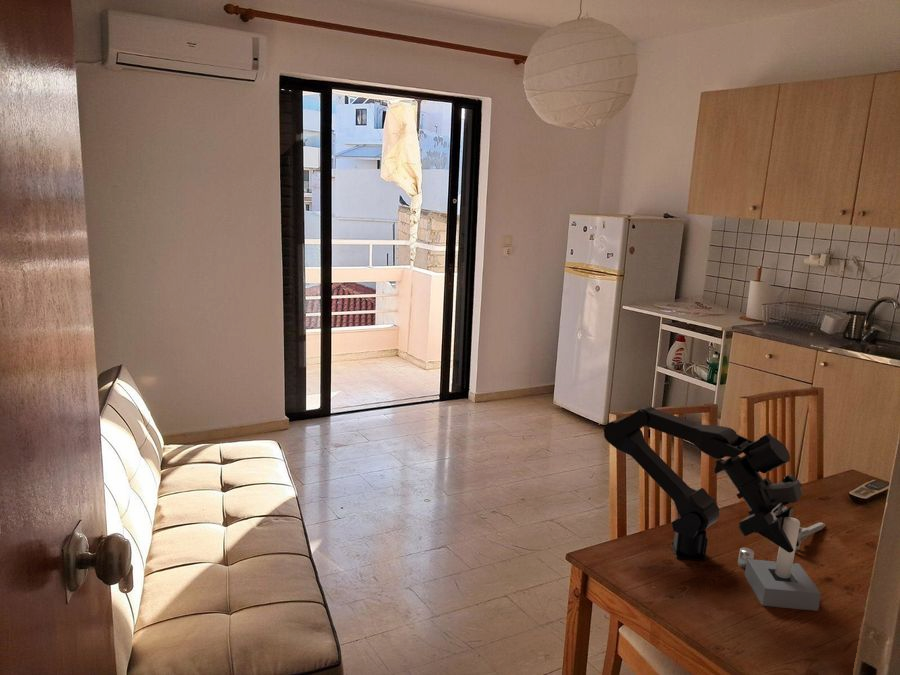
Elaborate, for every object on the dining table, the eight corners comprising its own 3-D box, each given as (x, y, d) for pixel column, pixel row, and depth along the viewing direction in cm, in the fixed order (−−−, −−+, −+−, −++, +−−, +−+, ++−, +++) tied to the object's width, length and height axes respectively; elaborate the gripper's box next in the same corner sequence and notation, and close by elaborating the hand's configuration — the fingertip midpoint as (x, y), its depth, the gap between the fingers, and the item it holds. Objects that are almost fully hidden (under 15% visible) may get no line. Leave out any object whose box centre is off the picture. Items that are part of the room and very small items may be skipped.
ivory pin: (773, 574, 141) (782, 520, 138) (776, 568, 143) (785, 515, 140) (788, 580, 139) (798, 525, 136) (791, 573, 141) (801, 520, 138)
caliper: (794, 554, 158) (798, 530, 156) (790, 552, 158) (794, 528, 157) (825, 526, 171) (829, 504, 170) (820, 525, 172) (824, 503, 171)
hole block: (762, 605, 137) (765, 588, 136) (744, 575, 148) (747, 559, 147) (817, 610, 136) (821, 593, 135) (796, 579, 147) (799, 563, 146)
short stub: (740, 567, 151) (742, 553, 150) (736, 560, 153) (738, 546, 153) (753, 569, 150) (756, 555, 150) (749, 561, 153) (751, 548, 152)
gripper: (763, 478, 132) (814, 551, 127) (795, 454, 145) (842, 519, 140) (718, 500, 139) (765, 570, 134) (753, 475, 152) (796, 538, 147)
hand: (794, 548), depth 138 cm, fingers closed on ivory pin, 3 cm apart
